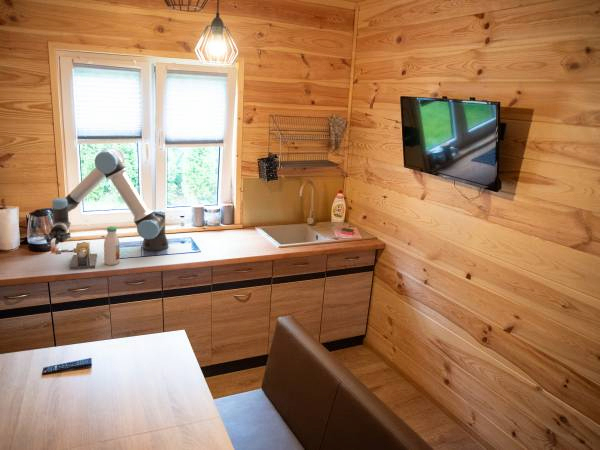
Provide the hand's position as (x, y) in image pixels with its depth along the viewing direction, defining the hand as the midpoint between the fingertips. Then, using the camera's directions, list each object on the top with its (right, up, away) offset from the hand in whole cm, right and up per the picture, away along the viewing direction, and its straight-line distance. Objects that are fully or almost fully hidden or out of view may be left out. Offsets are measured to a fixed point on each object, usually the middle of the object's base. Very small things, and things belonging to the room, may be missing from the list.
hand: (52, 244), depth 229 cm
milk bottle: (+20, -11, +22) cm, 32 cm away
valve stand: (+6, -10, +20) cm, 23 cm away
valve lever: (-2, -4, +16) cm, 17 cm away
